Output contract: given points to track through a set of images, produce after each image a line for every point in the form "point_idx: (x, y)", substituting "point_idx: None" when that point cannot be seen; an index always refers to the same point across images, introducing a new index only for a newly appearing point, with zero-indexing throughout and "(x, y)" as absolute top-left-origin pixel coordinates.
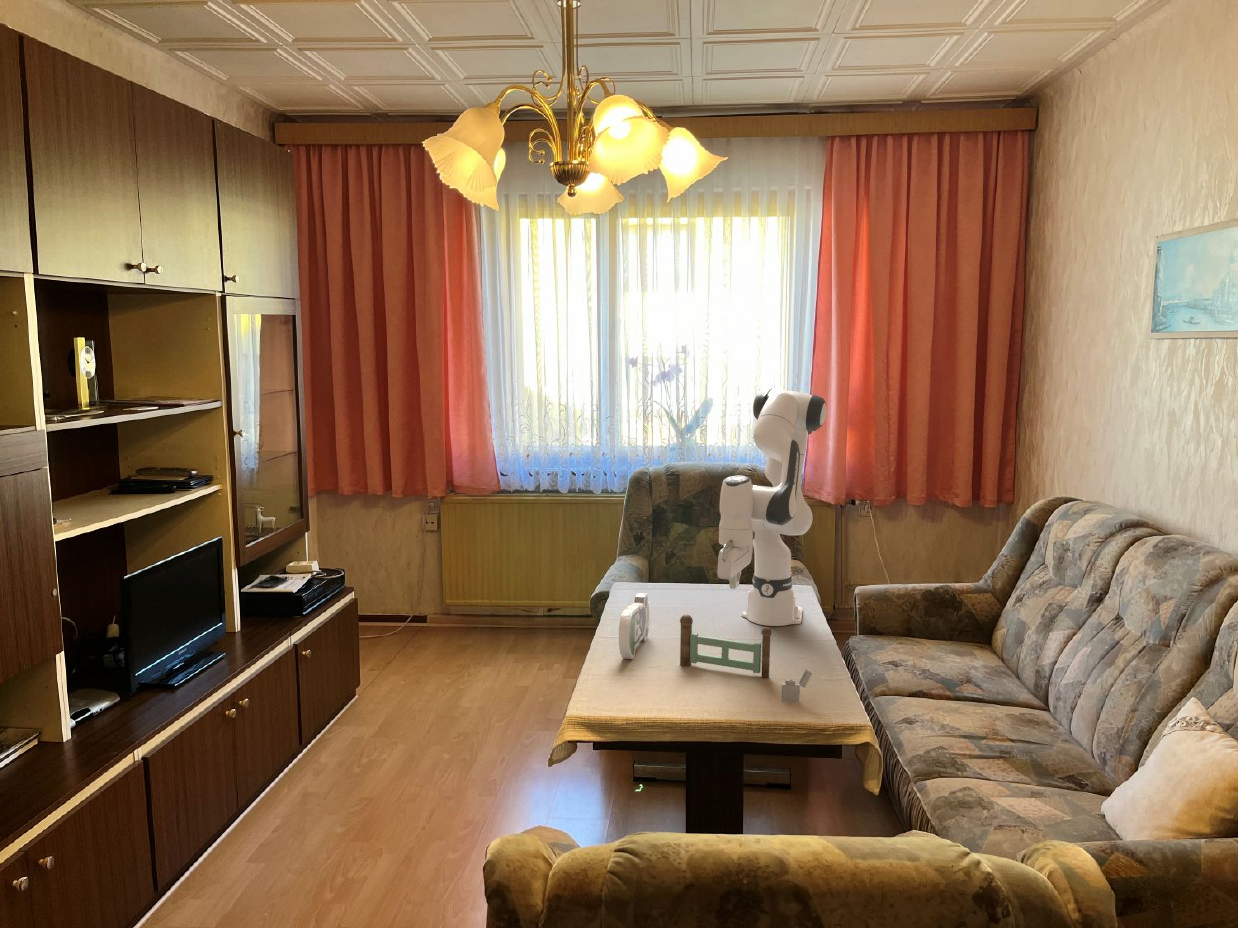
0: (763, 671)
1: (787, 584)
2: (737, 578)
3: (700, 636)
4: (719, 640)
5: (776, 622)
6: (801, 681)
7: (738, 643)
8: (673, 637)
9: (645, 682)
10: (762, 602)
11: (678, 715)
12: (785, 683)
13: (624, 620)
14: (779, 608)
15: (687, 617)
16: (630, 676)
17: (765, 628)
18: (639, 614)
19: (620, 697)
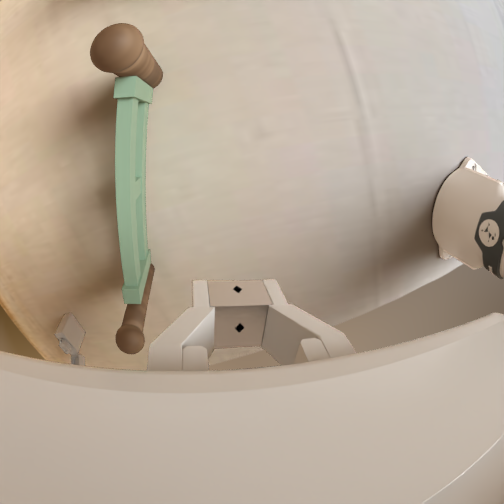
0: None
1: (491, 272)
2: (274, 347)
3: (122, 110)
4: (115, 181)
5: (437, 226)
6: (80, 358)
7: (120, 242)
8: (335, 17)
9: (27, 58)
10: (471, 211)
11: None
12: (62, 336)
13: None
14: (458, 240)
15: (96, 53)
16: (49, 17)
17: (122, 347)
18: None
19: None
